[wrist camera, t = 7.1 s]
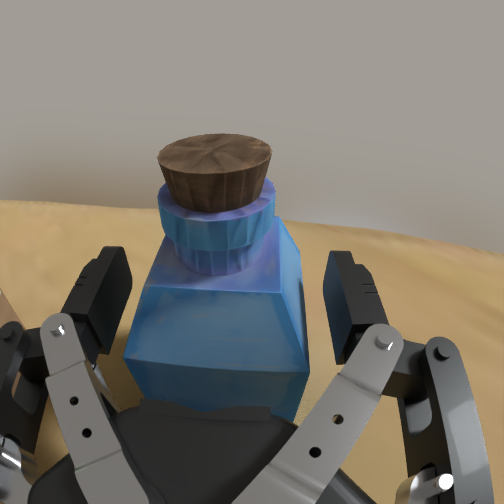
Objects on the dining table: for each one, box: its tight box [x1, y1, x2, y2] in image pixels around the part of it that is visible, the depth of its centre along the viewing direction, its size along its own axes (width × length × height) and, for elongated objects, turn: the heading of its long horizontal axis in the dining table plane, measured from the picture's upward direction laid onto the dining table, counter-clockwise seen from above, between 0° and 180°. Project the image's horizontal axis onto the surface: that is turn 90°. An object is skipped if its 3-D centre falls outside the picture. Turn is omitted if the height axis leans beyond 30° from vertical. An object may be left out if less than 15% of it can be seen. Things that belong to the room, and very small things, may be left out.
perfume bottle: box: [123, 134, 310, 423], centre depth 12 cm, size 6×6×12 cm
